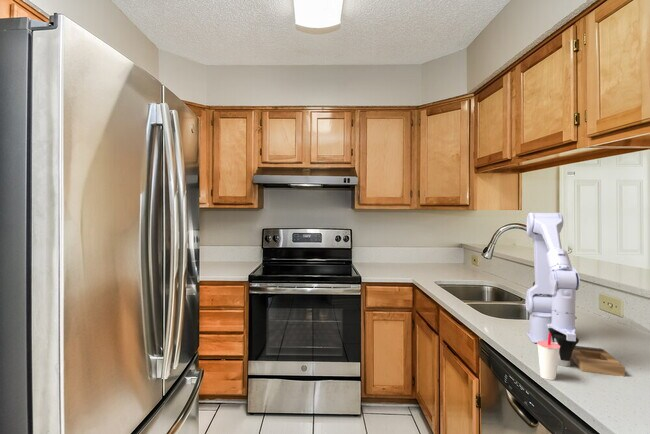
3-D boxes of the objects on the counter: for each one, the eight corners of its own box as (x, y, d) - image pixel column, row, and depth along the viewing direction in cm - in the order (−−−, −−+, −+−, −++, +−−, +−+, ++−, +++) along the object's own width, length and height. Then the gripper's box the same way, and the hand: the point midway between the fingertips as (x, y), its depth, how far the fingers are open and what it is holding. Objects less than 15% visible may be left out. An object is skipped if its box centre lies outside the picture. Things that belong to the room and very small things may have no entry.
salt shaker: (551, 359, 107) (552, 336, 107) (568, 361, 105) (568, 338, 105) (556, 365, 103) (556, 341, 103) (573, 367, 101) (573, 343, 101)
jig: (565, 353, 112) (566, 343, 112) (603, 357, 109) (603, 347, 109) (581, 371, 99) (581, 360, 99) (624, 376, 96) (624, 365, 96)
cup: (564, 381, 93) (565, 336, 93) (545, 382, 93) (546, 336, 92) (550, 372, 99) (550, 329, 98) (531, 372, 98) (532, 329, 98)
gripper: (540, 303, 112) (540, 346, 112) (555, 316, 98) (554, 365, 98) (566, 305, 110) (566, 348, 110) (585, 319, 96) (584, 369, 96)
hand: (562, 357), depth 104 cm, fingers closed on salt shaker, 4 cm apart
